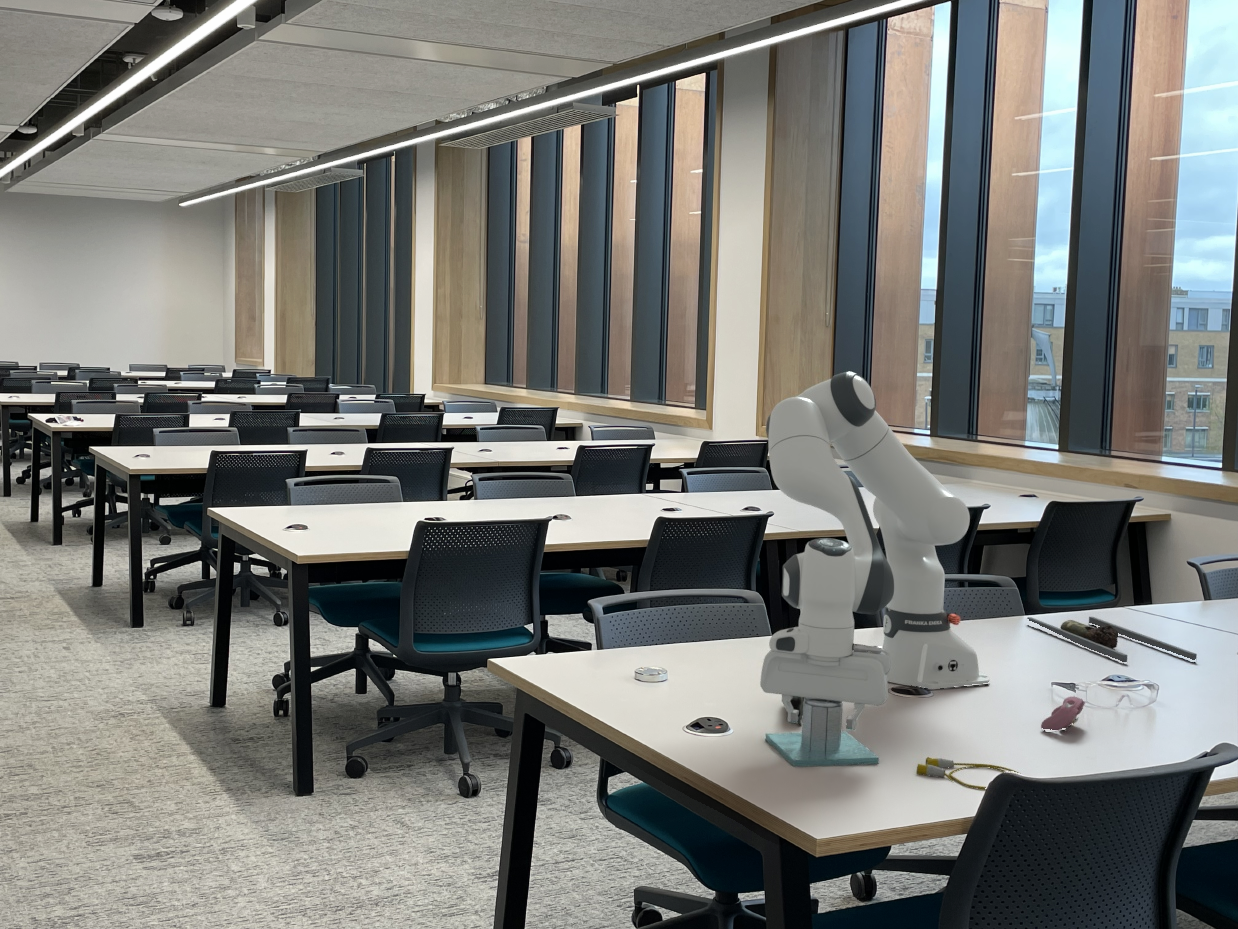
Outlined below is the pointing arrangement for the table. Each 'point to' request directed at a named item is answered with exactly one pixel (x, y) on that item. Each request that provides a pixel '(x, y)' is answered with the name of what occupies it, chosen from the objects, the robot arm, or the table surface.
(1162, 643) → the pipe rail right
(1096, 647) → the pipe rail left
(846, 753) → the flat teal square plate
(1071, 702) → the mauve lumpy piece
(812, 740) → the tabbed metal cylinder
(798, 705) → the mobile phone
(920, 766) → the yellow thin looped cord
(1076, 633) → the olive brown elongated piece
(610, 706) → the table surface
